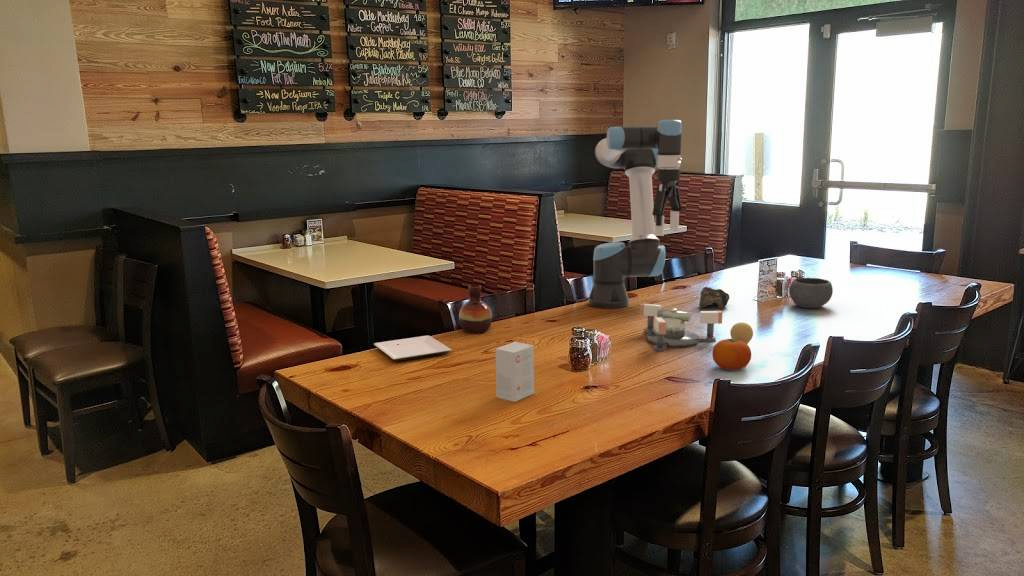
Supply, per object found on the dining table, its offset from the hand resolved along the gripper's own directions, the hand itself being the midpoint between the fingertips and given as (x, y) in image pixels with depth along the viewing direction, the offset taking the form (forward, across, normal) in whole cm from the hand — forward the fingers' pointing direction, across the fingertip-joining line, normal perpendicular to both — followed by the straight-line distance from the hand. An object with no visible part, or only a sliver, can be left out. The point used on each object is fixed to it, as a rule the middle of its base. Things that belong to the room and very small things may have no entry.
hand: (666, 233), depth 258 cm
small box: (+32, -84, +8) cm, 90 cm away
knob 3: (+30, -10, -19) cm, 37 cm away
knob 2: (+30, -28, -9) cm, 42 cm away
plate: (+32, -66, +56) cm, 92 cm away
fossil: (+32, +35, -6) cm, 48 cm away
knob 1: (+30, -10, +1) cm, 32 cm away
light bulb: (+32, -22, -32) cm, 50 cm away
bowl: (+32, +51, -37) cm, 71 cm away
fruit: (+32, -35, -33) cm, 58 cm away
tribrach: (+32, -18, -9) cm, 38 cm away
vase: (+32, -36, +53) cm, 72 cm away
